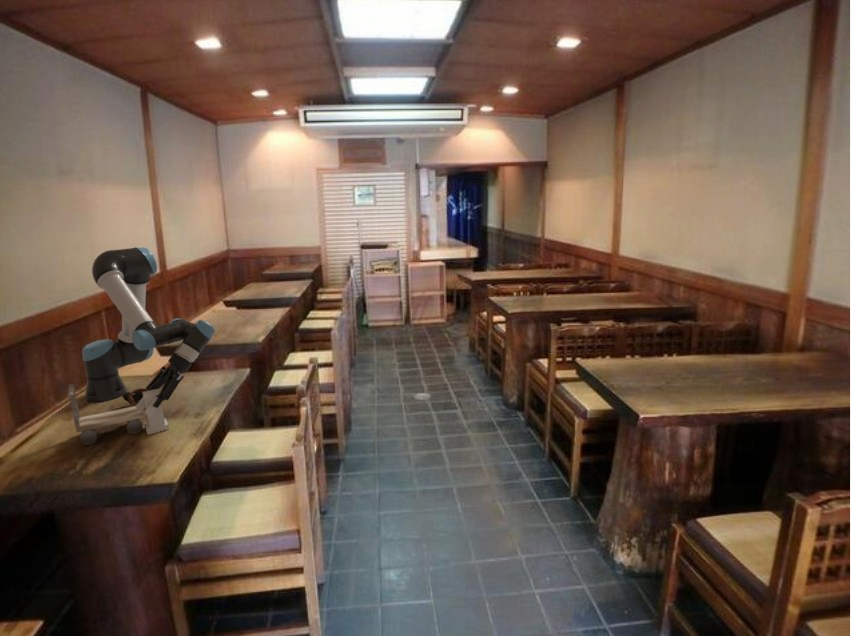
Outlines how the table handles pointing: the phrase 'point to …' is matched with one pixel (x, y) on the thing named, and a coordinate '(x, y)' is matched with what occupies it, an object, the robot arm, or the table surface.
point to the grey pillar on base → (157, 419)
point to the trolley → (103, 420)
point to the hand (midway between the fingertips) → (143, 411)
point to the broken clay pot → (134, 396)
